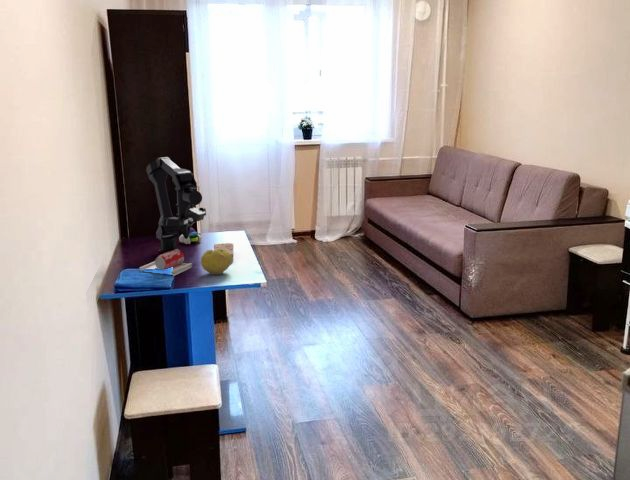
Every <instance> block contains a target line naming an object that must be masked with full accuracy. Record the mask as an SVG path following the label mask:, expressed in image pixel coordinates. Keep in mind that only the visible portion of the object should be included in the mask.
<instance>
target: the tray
mask: <svg viewBox="0 0 630 480" xmlns="http://www.w3.org/2000/svg"><path fill="white" fill-rule="evenodd" d="M193 267H194V266H193V263H192V262H190V263H185V262H183V263H181V264H179V265H177V266H174V267H173V271H172V272H171V273H172V274H173V276H172V277H175V276H176V275H179V274H180V273H183V272H185V271H187V270H189V269H191V268H193ZM155 268H157V267H156V265H155V260H154V261H151V262H150V263H148V264H144V265H141V266H140V267H139V268H138V269H139V270H143V269H155ZM139 270H138V271H139Z"/></svg>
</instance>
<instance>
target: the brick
mask: <svg viewBox="0 0 630 480" xmlns="http://www.w3.org/2000/svg"><path fill="white" fill-rule="evenodd" d="M216 249H224V250H226V251H228V252H229V253H230V255H231V258H232V259H231V264H233V263H234V243H229V242H226V243H225V242H224V243H218V244H217V243H214V245H213V251H214V250H216Z"/></svg>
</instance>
